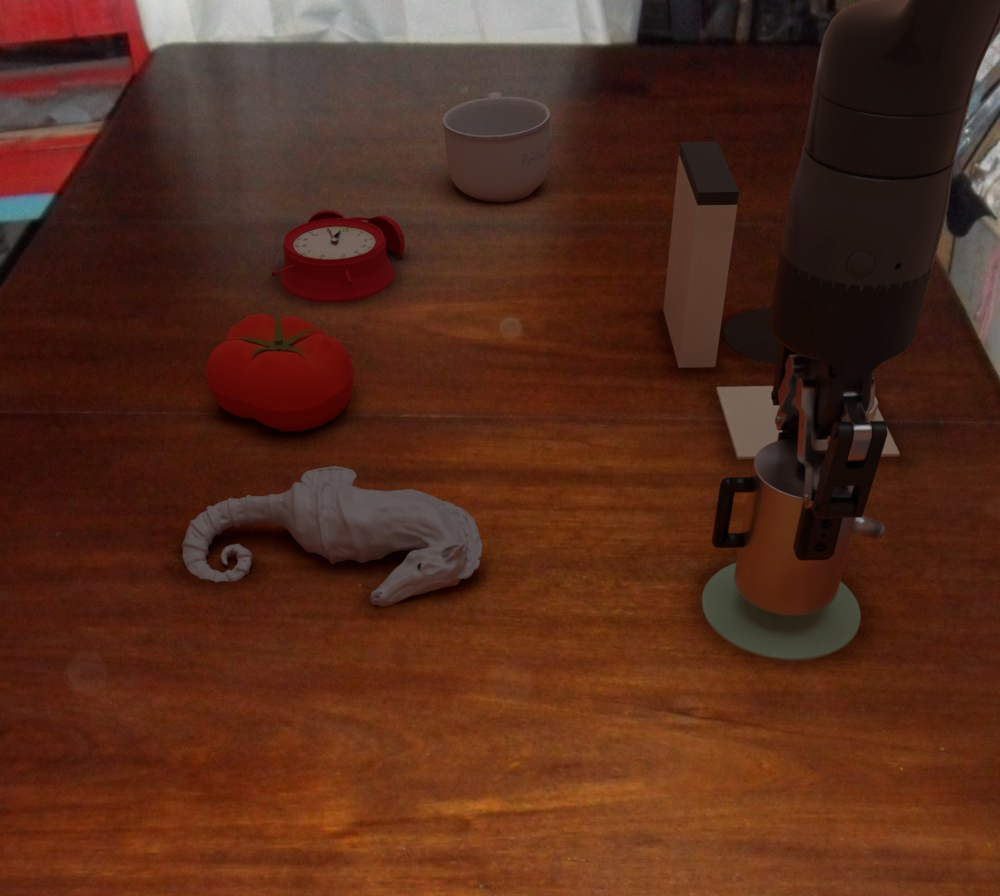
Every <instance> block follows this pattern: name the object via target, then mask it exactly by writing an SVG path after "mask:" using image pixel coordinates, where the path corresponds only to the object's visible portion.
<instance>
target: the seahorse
mask: <svg viewBox="0 0 1000 896" xmlns="http://www.w3.org/2000/svg"><path fill="white" fill-rule="evenodd" d="M356 478H357V473H356V472H355V470H354V469H352V468H351V469H350V468H348V467H343V466H338V465H333V466H327V467H319V468H315V469H310V470H307V471H305V472H304V473H303V474H302V475H301V478H300V481H295V482H293V483H292V485H291V488H289V489H288V490H287V491H285V492H282V493H277V494H274V493H269V494H268V495H251V494H247V495H246V496H243V497H240V498H235V497H234V498H233V497H229V498H227V499H225V500H222V501H219V502H218V503H215V504H214V505H207V507H206V510H204V511H202V512H201V513H199V514H198V515H197V516H196V517H195V518H194V519H191V520H190V522H189V526H188V528H187V530H186V532H185V535H184V539H183V541H182V542H181V547H182V556H181V558H182V560H183V563H184V566H185V568H186V570H187V571H188V572H189V573H191V574H192V575H194V576H196V577H198V578H199V579H200V580H209V581H213V582H214V583H219V582H233V583H234V582H237V581H238V580H241V579H242V578H244V577H245V576H247V575H249V573H250V569H251V567H252V560H253V559H254V555H253V553H252V551H250V550H249V549H248V548H247V547H244V546H243V545H241V543H235V544H233V543H232V544H229V545H227V546H225V547H224V548H223V549H222V551H221V553H220V560H221V563H222V564H223V565H224V566H227V567H228V566H229V563H228V558H229V557H230V556H231V555H235V556H236V560H237V563H236V565H234V567H233V569H231V570H230V569H227V570H225V571H224V572H223V571H222V572H221V571H220V570H218V569H213V568H211V566H210V565H209V564H208V560H207V557H208V555H209V554H210V551H209V547H210V546H211V545H213V539H214V538H215V537H216V536H220V535H222V533H223V531H225V530H226V529H228V528H231V527H236V528H239V527H240V526H241V525H256V524H258V523H268V524H272V525H274V526H277V527H282V528H284V529H286V530H287V531H288V532H289V533H290V535H291V536H292V537H293V539H294V540H295V541H296V542H297V543H298V545H300V546H301V547H302V548H303V549H304V550H305V551H306V552H307V553H309V554H314V553H316V554H317V555H320V556H321V557H323V558H324V559H327V560H328V561H329V563H330V564H331V565H332V566H333V565H335V564H336V563H342V562H345V561H348V560H350V561H355V562H358V563H359V564H365V563H367V562H370V561H379V560H381V559H383V558H384V557H386V556H388V555H389V554H392V553H394V552H403V551H404V552H405V551H410V552H409V553H407V555H406V557H405V559H404V560H402V562H401V563H400V564H399V565H398V566H396V567H395V568H394V569H393V570H392V571H391V572H390V574H389V575H388V576H387V577H386V578H385V579H384V580H383V582H381V583H380V584H379V585H378V586H377V588H376V589H374V590H373V591H372V592H371V593H370V596H369V598H370V599H369V601H370V604H371V605H372V606H378V607H381V608H384V607H388V606H392V605H394V604H398V603H399V602H402V601H403V600H405V599H408V598H410V597H413V596H420V595H424V594H427V593H429V592H434V591H438V590H440V589H443V588H448V587H455V586H457V585H458V584H459V583H460V582H461V580H462V579H465V580H466V579H469V578H470V577H472V576H473V573H474V572H475V571H476V570H479V567H480V563H481V560H480V558H481V557H482V556H483V553H482V552H483V551H482V550H483V548H484V546H483V541H482V539H481V534H480V533H479V526H478V525H477V522H476V519H474V518H473V517H472V516H471V514H469V513H468V511H466V510H465V509H464V508H462V507H461V506H459V505H458V506H457V505H456V504H455V503H452V502H450V501H448V500H447V501H446V500H442V499H441V498H438V497H436V496H434V495H431V494H428V493H426V492H424V491H420V490H417V489H411V488H410V489H407V488H405V489H404V488H403V489H393V490H378V489H368V488H367V489H365V488H360V487H358V486H355V485H353V484H354V482H355V480H356Z"/></svg>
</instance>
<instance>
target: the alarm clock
mask: <svg viewBox="0 0 1000 896" xmlns="http://www.w3.org/2000/svg"><path fill="white" fill-rule="evenodd" d="M405 243H406V242H405V235H404V232H403V230H402V228H401V226H400V224H399V223H398V222H397V221H396V220H395V219H393V218H391V217H389V216H387V215H376V216H372V217H364V216H353V217H352V216H351V217H347V218H346V217H345V216H344V215H343V214H341V213H340V212H338V211H335V210H332V209H323V210H319V211H316V212H315V213H313V214H312V215H311V216H310V217H309V219H308V221H307V222H305V223H302V224H299V225H297V226H296V227H293V228H292V229H290V230H289V231H288V232H287V233H286V234H285V236H284V238H283V243H282V250H283V256H284V265H283V268H281V269H278V270H277V271H276V270H273V271H272V272H271V276H272V277H277V276H278V275H279V274H280V283H281V286H282V287H283V289H284V290H285V291H286V292H288V293H289V294H290V295H292V296H294V297H297V298H299V299H303V300H306V301H311V302H318V303H328V304H329V303H332V304H333V303H347V302H355V301H359V300H363V299H366V298H370V297H372V296H375V295H377V294H379V293H381V292H383V291H384V290H386V289H387V288H388V287H390V285H391V284H393V281H394V279H395V268H394V267H393V265H392V263H391V262H390V259H389V258H388V255H387V251H389V252H392V253H395V254H397V255H398V257H397V260H399V259H400V258H401V257H402V256H403V253H404V252H405V251H404V250H405V245H406V244H405Z"/></svg>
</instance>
